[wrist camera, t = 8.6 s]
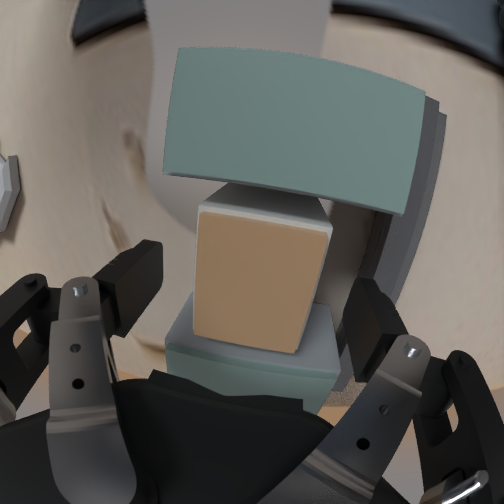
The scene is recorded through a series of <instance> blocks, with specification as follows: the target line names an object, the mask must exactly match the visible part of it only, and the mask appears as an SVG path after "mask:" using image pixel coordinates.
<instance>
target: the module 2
mask: <svg viewBox="0 0 504 504" xmlns="http://www.w3.org/2000/svg"><path fill="white" fill-rule="evenodd" d="M198 207H199V208H198V220H197V233H196V249H195V269H194V294H193V330H194V335H198V336H202V337H206V338H211V339H215V340H220V341H225V342H230V343H235V344H240V345H245V346H250V347H256V348H261V349H267V350H273V351H280V352H286V353H293V354H294V353H295V350H298V347H299V344H300V341H301V338H302V335H303V332H304V329H305V326H306V323H307V319H308V316H309V313H310V310H311V307H312V303H313V300H314V297H315V293H316V290H317V287H318V283H319V280H320V276H321V272H322V269H323V265H324V262H325V258H326V254H327V250H328V246H329V243H330V239H331V235H332V231H333V227H332V225H331V223H330V221H329V219H328V217H327V215H326V213H325V211H324V209H323V207H322V205H321V203H320V201H319V200H318V198H317V197H312V196H307V195H302V194H296V193H291V192H285V191H280V190H274V189H268V188H262V187H256V186H249V185H243V184H236V183H227V184H226V185H225V186H223V187H222V188H221V189H219V190H218V191H216V192H215V193H214V194H212V195H211V196H210V197H209V198H207V199H206V200H204V201H203V202H202V203H201V204H199V206H198Z"/></svg>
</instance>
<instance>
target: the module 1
mask: <svg viewBox="0 0 504 504" xmlns="http://www.w3.org/2000/svg"><path fill="white" fill-rule="evenodd" d="M425 93H426V92H425V91H424V90H421V89H419V88H416V87H414V86H412V85H409V84H407V83H404V82H401V81H399V80H396V79H393V78H390V77H388V76H385V75H382V74H379V73H376V72H372V71H369V70H366V69H362V68H359V67H355V66H352V65H348V64H344V63H340V62H336V61H331V60H327V59H322V58H317V57H312V56H307V55H301V54H294V53H288V52H280V51H272V50H263V49H250V48H232V47H191V48H180V49H179V50H178V56H177V61H176V67H175V72H174V78H173V84H172V90H171V97H170V105H169V113H168V120H167V129H166V138H165V149H164V160H163V175H171V176H180V177H189V178H198V179H206V180H215V181H222V182H229V183H236V184H243V185H249V186H256V187H262V188H268V189H274V190H280V191H285V192H291V193H296V194H302V195H307V196H312V197H317V198H322V199H328V200H332V201H336V202H341V203H346V204H350V205H355V206H359V207H363V208H368V209H372V210H376V211H380V212H384V213H388V214H392V215H396V216H400V217H402V214H404V211H405V207H406V203H407V199H408V195H409V191H410V187H411V182H412V178H413V173H414V169H415V164H416V158H417V153H418V147H419V141H420V135H421V128H422V121H423V113H424V104H425Z"/></svg>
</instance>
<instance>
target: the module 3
mask: <svg viewBox="0 0 504 504" xmlns="http://www.w3.org/2000/svg"><path fill="white" fill-rule="evenodd" d="M193 294H194V290H193V291H192V293H191V295H190V296H189V298H188V300H187V301H186V303H185V305H184V307H183V308H182V310H181V312H180V313H179V315H178V317H177V318H176V320H175V322H174V324H173V325H172V327H171V329H170V330H169V332H168V334H167V336H166V337H165V354H166V363H167V372H168V374H171V375H175V376H178V377H182V378H186V379H189V380H191V381H193V382H195V383H197V384H199V385H201V386H204V387H206V388H208V389H210V390H212V391H214V392H217V393H219V394H222V395H225V396H245V395H272V396H280V397H288V398H297V399H303V410H305V411H308V412H310V413H313V414H315V415H317V414H318V412H319V411H320V409H321V407H322V406H323V404H324V402H325V401H326V399H327V397H328V395H329V394H330V392H331V390H332V388H333V387H334V385H335V383H336V381H337V377H338V375H339V374H340V372H341V367H340V361H339V355H338V349H337V343H336V338H335V332H334V327H333V322H332V316H331V311H330V306H329V305H324V304H317V303H312V307H311V310H310V313H309V316H308V319H307V323H306V326H305V329H304V332H303V335H302V338H301V341H300V344H299V347H298V350H295V353H294V354H293V353H286V352H280V351H273V350H267V349H261V348H256V347H250V346H245V345H240V344H235V343H230V342H225V341H220V340H215V339H211V338H206V337H202V336H198V335H194V330H193Z"/></svg>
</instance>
